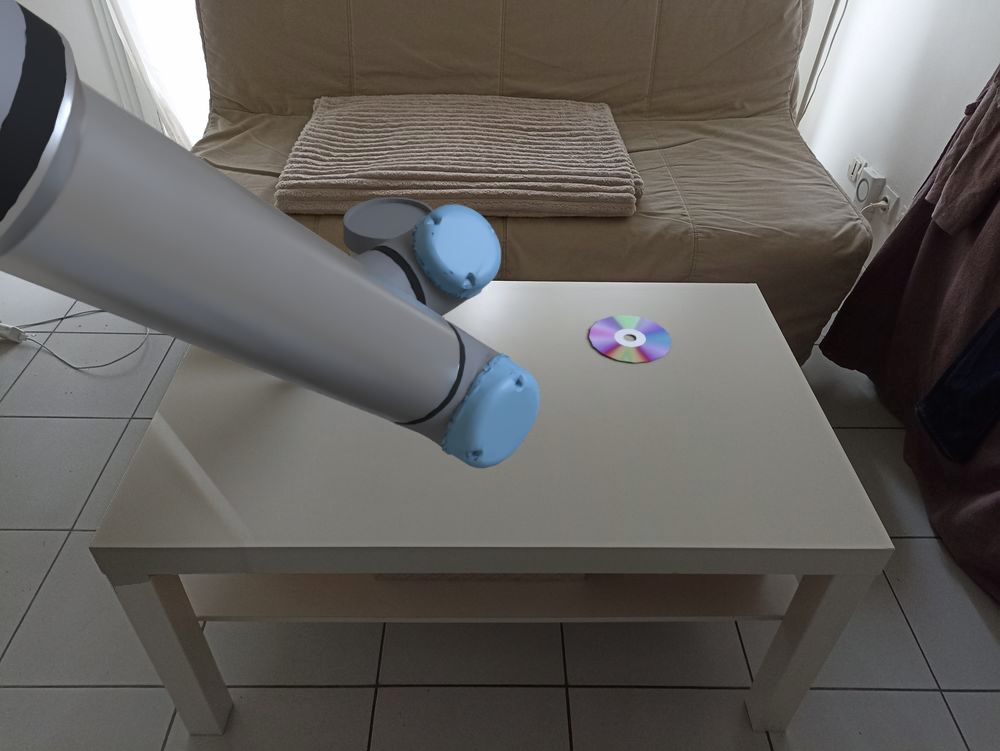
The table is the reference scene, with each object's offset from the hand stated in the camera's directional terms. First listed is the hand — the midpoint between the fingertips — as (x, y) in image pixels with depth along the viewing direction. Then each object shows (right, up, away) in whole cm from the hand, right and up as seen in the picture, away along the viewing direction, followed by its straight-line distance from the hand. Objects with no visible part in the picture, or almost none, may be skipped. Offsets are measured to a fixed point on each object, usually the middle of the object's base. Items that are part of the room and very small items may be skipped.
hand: (322, 362), depth 92 cm
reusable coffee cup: (+7, +7, +15) cm, 18 cm away
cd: (+40, +3, +11) cm, 41 cm away
